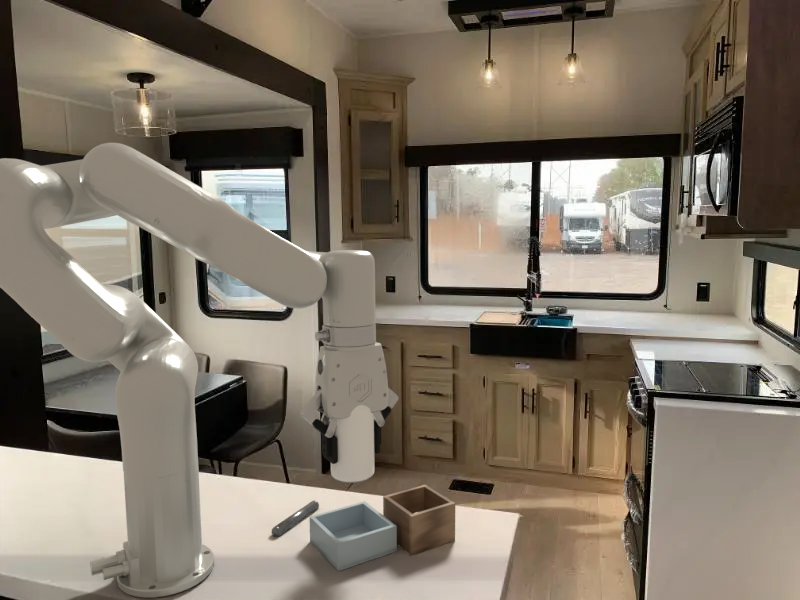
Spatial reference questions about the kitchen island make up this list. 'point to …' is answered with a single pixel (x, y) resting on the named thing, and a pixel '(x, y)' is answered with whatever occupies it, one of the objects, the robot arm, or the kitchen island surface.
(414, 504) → the walnut box
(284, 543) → the kitchen island surface
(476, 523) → the kitchen island surface
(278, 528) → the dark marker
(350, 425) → the can
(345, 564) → the light blue tray
